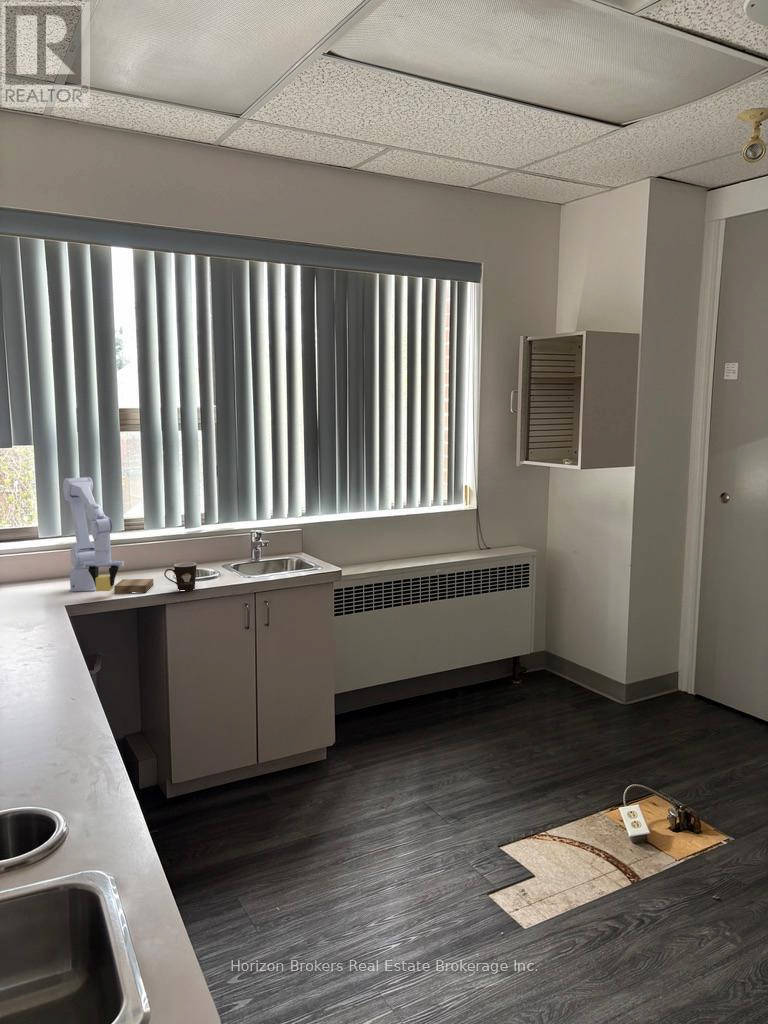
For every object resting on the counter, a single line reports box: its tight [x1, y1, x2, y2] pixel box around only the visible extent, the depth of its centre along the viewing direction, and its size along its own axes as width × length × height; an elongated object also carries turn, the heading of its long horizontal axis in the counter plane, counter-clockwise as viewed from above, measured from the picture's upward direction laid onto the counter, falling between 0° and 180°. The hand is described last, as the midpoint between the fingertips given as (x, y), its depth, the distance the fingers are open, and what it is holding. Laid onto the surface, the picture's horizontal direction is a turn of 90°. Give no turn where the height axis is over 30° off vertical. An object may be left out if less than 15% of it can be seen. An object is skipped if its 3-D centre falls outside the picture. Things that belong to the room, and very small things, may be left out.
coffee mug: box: [163, 562, 198, 592], centre depth 301 cm, size 12×9×10 cm
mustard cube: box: [95, 574, 115, 592], centre depth 291 cm, size 5×5×5 cm
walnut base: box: [113, 578, 154, 594], centre depth 302 cm, size 12×12×3 cm
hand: (104, 585), depth 291 cm, fingers closed on mustard cube, 5 cm apart
